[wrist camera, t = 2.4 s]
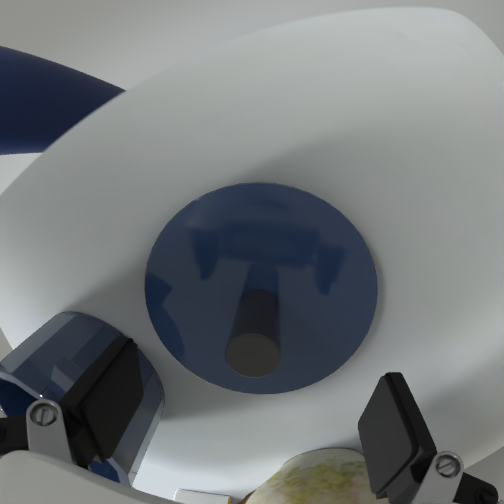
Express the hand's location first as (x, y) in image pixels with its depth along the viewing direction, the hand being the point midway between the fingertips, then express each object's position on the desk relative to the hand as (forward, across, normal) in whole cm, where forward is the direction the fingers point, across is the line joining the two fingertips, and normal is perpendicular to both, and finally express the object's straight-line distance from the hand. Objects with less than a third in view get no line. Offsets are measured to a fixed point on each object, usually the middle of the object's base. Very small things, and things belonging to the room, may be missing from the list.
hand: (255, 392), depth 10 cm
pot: (+7, +13, +10) cm, 18 cm away
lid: (+7, 0, 0) cm, 7 cm away
